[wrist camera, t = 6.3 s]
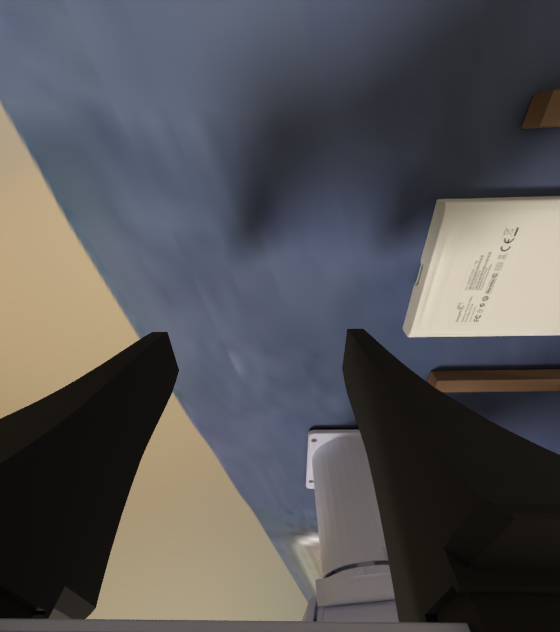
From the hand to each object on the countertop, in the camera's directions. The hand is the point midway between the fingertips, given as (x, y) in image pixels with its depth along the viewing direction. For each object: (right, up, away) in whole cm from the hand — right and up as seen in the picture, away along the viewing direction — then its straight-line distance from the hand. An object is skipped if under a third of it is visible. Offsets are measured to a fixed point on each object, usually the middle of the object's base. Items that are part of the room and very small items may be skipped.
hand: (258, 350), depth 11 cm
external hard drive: (+15, +4, +5) cm, 17 cm away
